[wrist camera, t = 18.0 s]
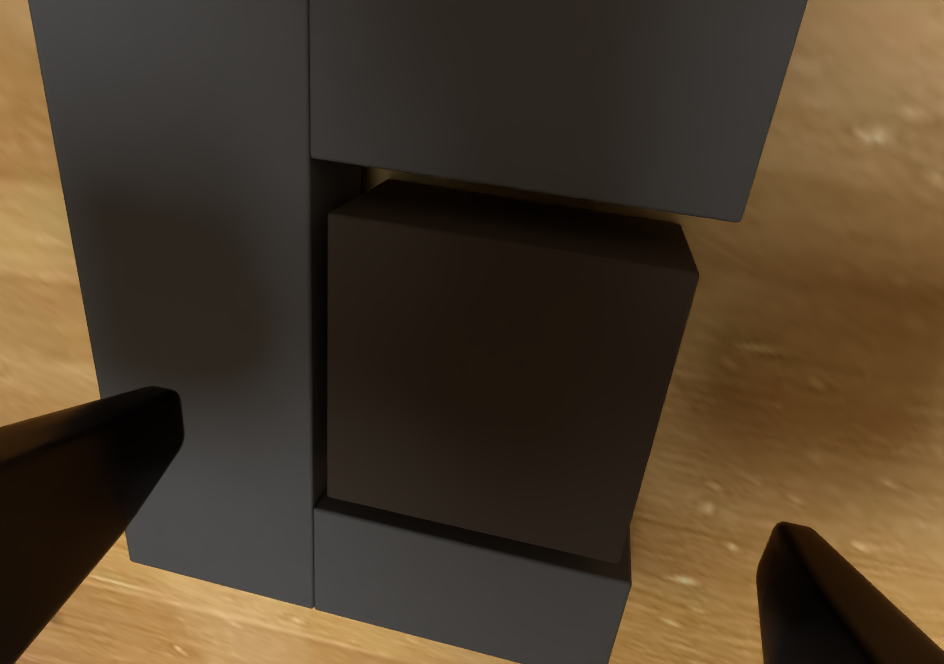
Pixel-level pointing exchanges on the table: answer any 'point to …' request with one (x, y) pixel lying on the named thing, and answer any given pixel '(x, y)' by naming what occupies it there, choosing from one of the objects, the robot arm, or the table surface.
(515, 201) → the black pad
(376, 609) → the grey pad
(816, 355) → the table surface
